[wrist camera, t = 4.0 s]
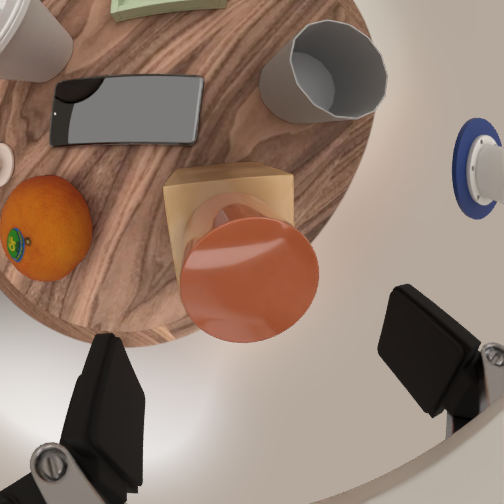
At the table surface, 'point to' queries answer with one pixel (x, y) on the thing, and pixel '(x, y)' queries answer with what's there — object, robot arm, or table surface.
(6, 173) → the candle
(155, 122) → the smartphone
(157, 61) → the table surface
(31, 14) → the coffee cup
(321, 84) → the cup
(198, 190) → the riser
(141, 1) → the tray
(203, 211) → the orange cylinder puck
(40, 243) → the fruit
